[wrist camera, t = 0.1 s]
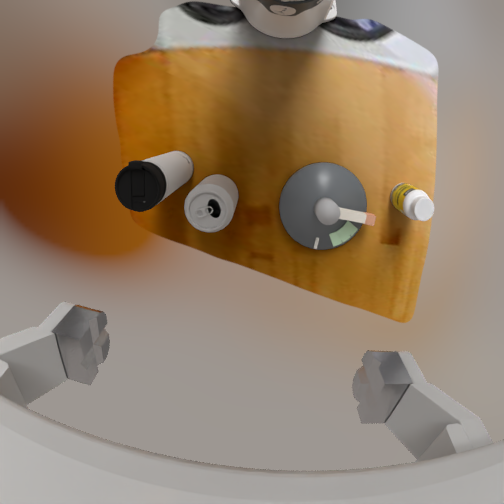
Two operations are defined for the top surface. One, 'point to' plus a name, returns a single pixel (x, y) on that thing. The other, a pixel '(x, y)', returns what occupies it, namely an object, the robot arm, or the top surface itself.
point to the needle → (339, 213)
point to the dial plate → (308, 192)
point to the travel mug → (152, 180)
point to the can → (211, 203)
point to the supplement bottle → (412, 202)
